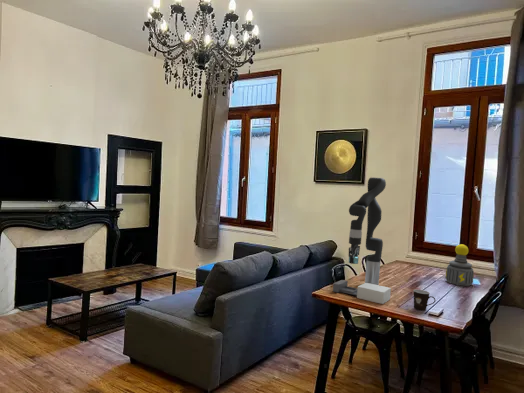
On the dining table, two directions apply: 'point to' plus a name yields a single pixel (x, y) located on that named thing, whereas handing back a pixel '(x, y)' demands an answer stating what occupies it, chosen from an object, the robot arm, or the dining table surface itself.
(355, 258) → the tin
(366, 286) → the white rectangular block
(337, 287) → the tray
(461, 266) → the decorative lamp
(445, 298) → the dining table surface
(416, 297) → the coffee mug
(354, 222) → the robot arm
